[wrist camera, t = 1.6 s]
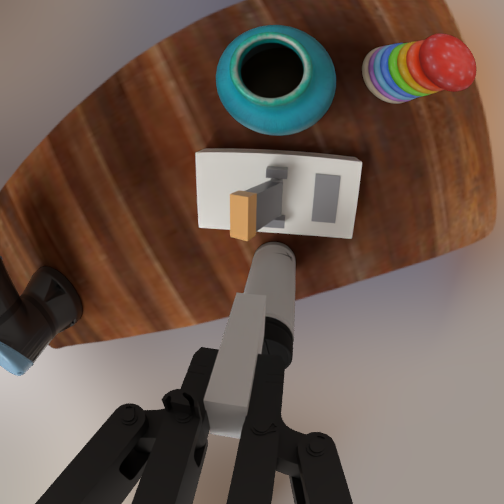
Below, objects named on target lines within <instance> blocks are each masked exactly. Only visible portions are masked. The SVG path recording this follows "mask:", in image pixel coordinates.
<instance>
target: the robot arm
mask: <svg viewBox="0 0 504 504" xmlns="http://www.w3.org/2000/svg"><path fill="white" fill-rule="evenodd" d="M265 311H266V295H256V294H245V293H237V294H236V297H235V300H234V303H233V306H232V310H231V313H230V316H229V319H228V323H227V326H226V329H225V332H224V335H223V339H222V342H221V345H220V349H219V350H217V349H211V348H204V347H201V348H200V349H199V350H198V351H197V352H196V353H195V354H194V355H193V358H192V360H191V363H190V366H189V368H188V372H187V374H186V376H185V378H184V381H183V384H182V386H181V389H176V390H172V391H170V392H168V393H167V394H165V396H164V397H163V399H162V401H163V404H164V407H165V409H161V410H143V409H142V408H141V407H139V406H138V405H136V404H124V405H121V406H120V407H119V408H117V409H116V410H115V411H114V413H113V414H112V415H111V416H110V417H109V418H108V420H107V421H106V422H105V423H104V424H103V425H102V427H101V428H100V429H99V430H98V431H97V432H96V434H95V435H94V436H93V437H92V438H91V439H90V441H89V442H88V443H87V444H86V445H85V446H84V447H83V449H82V450H81V451H80V452H79V453H78V455H77V456H76V457H75V458H74V459H73V460H72V461H71V463H70V464H69V465H68V466H67V467H66V468H65V470H64V471H63V472H62V473H61V474H60V476H59V477H58V478H57V479H56V480H55V481H54V483H53V484H52V485H51V486H50V487H49V488H48V489H47V491H46V492H45V493H44V494H43V495H42V496H41V498H40V499H39V500H38V501H37V502H36V503H35V504H121V503H122V502H123V501H124V499H125V498H126V497H127V496H128V494H129V493H130V491H131V490H132V489H133V487H134V486H135V485H136V483H137V482H138V481H139V479H140V478H141V479H140V482H139V485H138V488H137V490H136V493H135V496H134V499H133V501H132V504H193V500H194V496H195V492H196V488H197V484H198V481H199V477H200V474H201V469H202V466H203V462H204V458H205V455H206V451H207V447H208V440H207V437H208V434H209V430H210V432H211V434H214V435H220V436H227V437H234V438H240V442H239V447H238V451H237V456H236V461H235V466H234V471H233V475H232V480H231V485H230V490H229V494H228V499H227V504H271V501H272V494H273V486H274V478H275V470H276V471H278V472H281V473H284V474H287V475H289V478H290V483H291V488H292V493H293V498H294V503H295V504H353V502H352V499H351V496H350V492H349V489H348V485H347V483H346V479H345V475H344V472H343V469H342V466H341V463H340V459H339V456H338V453H337V449H336V446H335V443H334V441H333V440H332V438H331V437H329V436H328V435H327V434H323V433H321V432H312V433H309V434H302V433H300V432H297V431H294V430H292V429H290V428H289V427H288V426H286V425H285V423H284V422H283V420H282V418H281V407H282V395H283V383H284V371H285V364H284V362H283V360H282V357H281V356H277V355H266V354H261V352H262V345H263V339H264V329H265ZM81 315H82V304H81V301H80V298H79V296H78V294H77V292H76V290H75V289H74V287H73V286H72V284H71V283H70V282H69V281H68V280H67V279H66V277H64V276H63V275H62V274H61V273H60V272H58V271H57V270H55V269H53V268H51V267H46V266H45V267H41V268H40V269H38V270H37V271H36V272H35V273H34V274H33V275H32V277H31V279H30V281H29V283H28V285H27V287H26V288H25V290H24V292H23V294H22V295H21V296H19V294H18V292H17V290H16V288H15V286H14V284H13V282H12V280H11V278H10V276H9V274H8V272H7V270H6V268H5V266H4V263H3V261H2V257H1V256H0V366H2V367H3V368H4V369H6V370H7V371H9V372H10V373H12V374H14V375H18V376H21V375H23V374H24V373H25V372H26V371H27V370H28V369H29V368H30V367H31V366H32V365H33V363H34V362H35V361H36V359H37V358H38V357H39V355H40V354H41V353H42V352H43V350H44V349H45V348H46V346H47V345H48V344H49V343H50V341H51V340H52V339H53V338H54V336H55V335H56V334H58V333H60V332H62V331H63V330H65V329H67V328H69V327H71V326H73V325H74V324H75V323H76V322H77V321H78V320H79V319H80V317H81ZM141 476H142V477H141Z"/></svg>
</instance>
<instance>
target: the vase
mask: <svg viewBox="0 0 504 504" xmlns="http://www.w3.org/2000/svg"><path fill="white" fill-rule="evenodd" d="M216 86H217V91H218V94H219V97H220V100H221V102H222V104H223V105H224V107H225V109H226V110H227V111H228V112H229V114H230V115H231V116H232V117H233V118H234V119H235V120H237V121H238V122H239V123H241V124H242V125H244V126H245V127H247V128H249V129H251V130H253V131H256V132H259V133H262V134H267V135H278V136H282V135H291V134H294V133H298V132H301V131H303V130H305V129H308V128H309V127H311V126H312V125H314V124H315V123H316V122H318V121H319V120H320V119H321V118H322V117H323V116H324V114H325V113H326V112H327V111H328V109H329V107H330V105H331V104H332V101H333V98H334V95H335V90H336V74H335V68H334V65H333V63H332V60H331V58H330V56H329V54H328V53H327V51H326V50H325V49H324V47H323V46H322V45H321V44H320V43H319V42H318V41H317V40H316V39H315V38H313V37H312V36H310V35H308V34H307V33H305V32H303V31H301V30H299V29H296V28H292V27H289V26H282V25H267V26H260V27H257V28H254V29H251V30H249V31H247V32H245V33H243V34H241V35H240V36H238V37H237V38H235V39H234V40H233V41H232V42H231V43H230V44H229V45H228V47H227V48H226V49H225V51H224V52H223V54H222V56H221V58H220V60H219V63H218V66H217V72H216Z"/></svg>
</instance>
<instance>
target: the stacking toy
mask: <svg viewBox="0 0 504 504" xmlns="http://www.w3.org/2000/svg"><path fill="white" fill-rule="evenodd" d="M362 75H363V79H364V82H365V84H366V86H367V87H368V89H369V90H370V91H371V92H372V93H373V94H374V95H375V96H376V97H378V98H379V99H381V100H383V101H386V102H389V103H403V102H407V101H410V100H412V99H415V98H417V97H421V96H427V95H429V94H432V93H436V92H438V91H442V90H447V91H453V92H455V91H461V90H464V89H466V88H468V87H469V86H470V85H471V84H472V82H473V81H474V79H475V76H476V63H475V59H474V57H473V55H472V53H471V51H470V50H469V48H468V47H467V46H466V45H465V44H464V43H463V42H462V41H460V40H459V39H457V38H456V37H454V36H451V35H448V34H434V35H431V36H429V37H428V38H426V39H425V40H420V41H416V42H410V43H396V44H391V45H386V46H382V47H378V48H375V49H373V50H372V51H370V52H369V53H368V54H367V56H366V57H365V59H364V61H363V65H362Z"/></svg>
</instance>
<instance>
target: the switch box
mask: <svg viewBox="0 0 504 504" xmlns="http://www.w3.org/2000/svg"><path fill="white" fill-rule="evenodd" d="M361 169H362V162H361V161H360V160H359V159H357V158H356V157H351V156H342V155H333V154H323V153H312V152H300V151H285V150H267V149H235V148H205V149H202V150H200V151H198V152H196V183H197V205H198V223H199V228H212V229H228V230H230V194H231V193H234V192H236V191H238V190H240V191H245V190H248V189H250V188H252V187H255V186H257V185H259V184H262V183H264V182H267V181H269V180H271V178H276V179H283V194H282V212H281V216H279V217H277V218H275V219H274V220H273V221H271V222H270V223H268V224H267V225H265V226H264V227H262V228H261V229H260V230H258V232H272V233H285V234H298V235H311V236H323V237H335V238H347V239H352V234H353V228H354V221H355V215H356V208H357V201H358V193H359V186H360V177H361Z"/></svg>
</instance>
